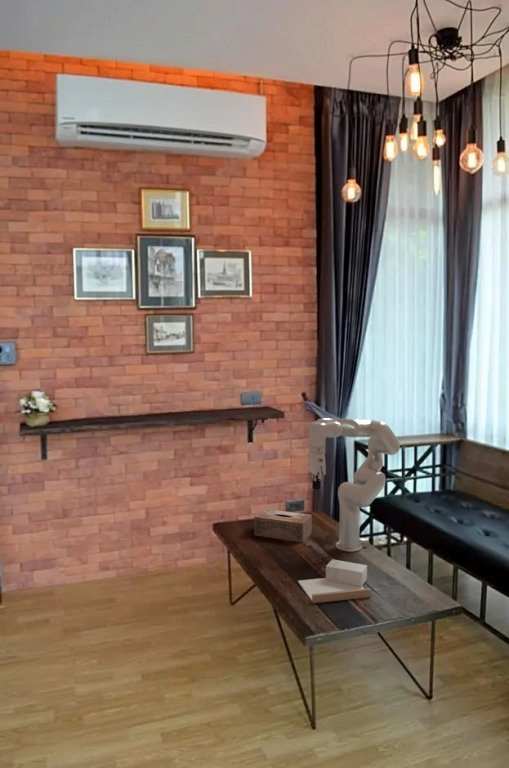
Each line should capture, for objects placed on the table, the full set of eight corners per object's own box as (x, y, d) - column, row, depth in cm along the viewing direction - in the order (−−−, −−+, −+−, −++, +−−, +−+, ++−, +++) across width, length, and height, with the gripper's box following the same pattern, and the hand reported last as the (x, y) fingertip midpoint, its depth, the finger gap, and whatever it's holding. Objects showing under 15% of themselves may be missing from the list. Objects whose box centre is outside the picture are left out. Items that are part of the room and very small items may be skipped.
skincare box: (325, 579, 250) (361, 588, 243) (325, 564, 250) (361, 572, 242) (332, 572, 258) (367, 580, 251) (332, 557, 257) (368, 565, 250)
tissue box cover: (311, 533, 308) (311, 514, 307) (302, 543, 295) (303, 523, 294) (264, 527, 318) (264, 508, 317) (254, 535, 304) (254, 516, 303)
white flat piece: (351, 576, 255) (351, 569, 255) (371, 596, 236) (371, 589, 236) (297, 582, 249) (297, 575, 249) (313, 603, 231) (313, 595, 230)
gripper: (330, 452, 265) (329, 493, 267) (319, 445, 279) (318, 484, 281) (314, 453, 263) (313, 494, 265) (303, 446, 278) (303, 485, 280)
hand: (316, 488), depth 273 cm, fingers closed
